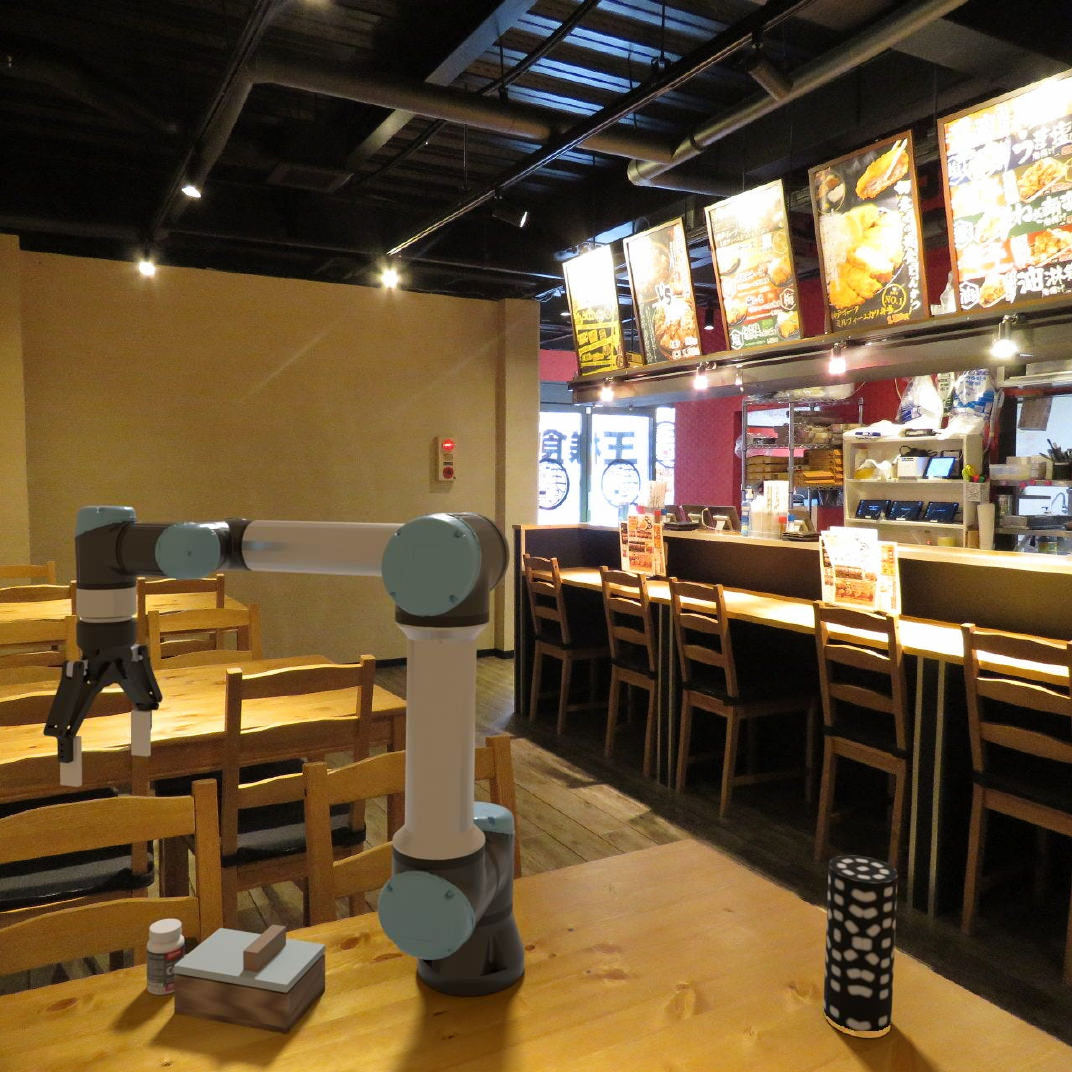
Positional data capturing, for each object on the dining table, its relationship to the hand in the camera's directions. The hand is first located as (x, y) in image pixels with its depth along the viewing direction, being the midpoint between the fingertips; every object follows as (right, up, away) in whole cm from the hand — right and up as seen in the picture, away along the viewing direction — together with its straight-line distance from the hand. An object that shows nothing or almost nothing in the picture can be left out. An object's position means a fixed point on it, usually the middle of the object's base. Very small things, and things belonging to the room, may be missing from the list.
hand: (108, 769), depth 124 cm
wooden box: (+22, -29, -7) cm, 37 cm away
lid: (+22, -23, -7) cm, 33 cm away
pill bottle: (+10, -29, -4) cm, 30 cm away
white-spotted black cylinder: (+101, -30, -8) cm, 106 cm away
